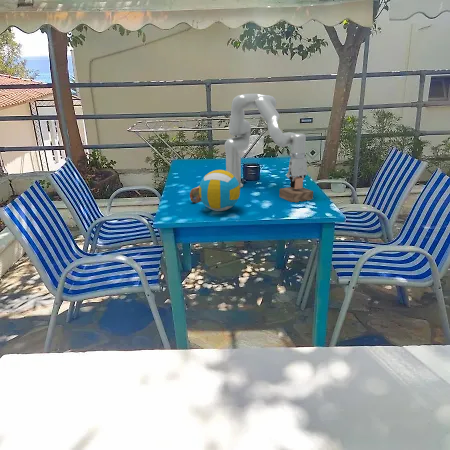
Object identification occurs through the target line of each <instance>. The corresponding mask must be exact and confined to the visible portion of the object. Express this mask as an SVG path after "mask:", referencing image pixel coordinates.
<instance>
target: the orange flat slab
mask: <svg viewBox="0 0 450 450" xmlns="http://www.w3.org/2000/svg"><path fill="white" fill-rule="evenodd" d="M199 186H200V185H198V186H197V187H194V188H191V190H190V192H189V198H190V201H191V202H192V203H195V204H197V203H200V202H202V200H201V198H200V195H199Z"/></svg>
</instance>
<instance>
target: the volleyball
mask: <svg viewBox="0 0 450 450" xmlns="http://www.w3.org/2000/svg"><path fill="white" fill-rule="evenodd" d="M198 186H199V195H200V198H201V200H202V201H201V202H202V203H203V205H204V206H205V207H207V208H208V209H210V210H212V211H215V212H222V211H223V212H224V211H227V210H229V209H232V208H233V206H235V205H236V204H237V203H238V200H239V198H240V195H241V188H240V186H239V183H238V180H237V179H236V178H235V177H234V175H232V174H231V173H230V172H228V171H226V169H225V170H224V169H215V170H212V171H209V172H208V173H207V174H205V175H204V176H203V177H202V179H201V180H200V184H199V185H198Z"/></svg>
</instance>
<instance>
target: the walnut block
mask: <svg viewBox="0 0 450 450" xmlns="http://www.w3.org/2000/svg"><path fill="white" fill-rule="evenodd" d="M279 198H281V199H284V200H286V201H288V202H290V203H292V202H295V203H300V202H299V201H301V202H306V200H307V201H312V200H311V199H313V200H314V191H313V190H311V189H308V188H306V187H303V188H300V189H294V188H291V186H289V187H284V188H283V187H282V188H279Z"/></svg>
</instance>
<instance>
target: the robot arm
mask: <svg viewBox="0 0 450 450" xmlns="http://www.w3.org/2000/svg"><path fill="white" fill-rule="evenodd" d="M276 106H277V100H276V98H275V97H274V96H272V95H268V94H260V93H243V94H238V95H236V96H234V98H233V99H232V102H231V110H230V111H231V113H230V119H229V125H228V126H229V127H228V132H229V135H231V137H230V138H227V139H226V141H225V142H224V151H225V168H226V169H225V171H228V172H230V173H231V174H232V175H234V177H235V178H236V179H237V180H238V183H239V186H240V189H241V188H243V187H244V184H243V183H242V181H241V180H242V176H241V175H242V169H241V168H242V158H241V155H240V152H244V151H245V150H247V148H248V147H249V143H250V137H251V130H252V126H251V123H250V121H249V120H248V119H245V110H246V109H257V111H258V112H259V113H260V115H261V116H262V118H263V120H264V121H265V122H266V124H267V130H268V134H269V137H270V138H271V139H272V141H273V142H274V144H275V145H276V146H277V147H279V148H284V147H285V148H286V147H288V146H291V154H290V155H289V157H290V159H289V165H288V171H287V173H286V174H285V176H286V177H287V178H288V179H289V181H290V185H289V187H292V188H294V186H295V181H294V179H295V177H297V176H299V177H301V178H303V181H304V180H305V178H306V176H307V175H308V174H309V172H308V171H307V168H308V167H307V158H306V144H307V143H306V139H307V138H306V137H307V136H306V134H305V133H295V132H292V131H289V132H283V131H282V130H281V129H280V126H279V120H280V117H281V115H280V114H279V113H280V112H278V111H277V109H276ZM232 136H233V137H232ZM292 177H293V178H292Z"/></svg>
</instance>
